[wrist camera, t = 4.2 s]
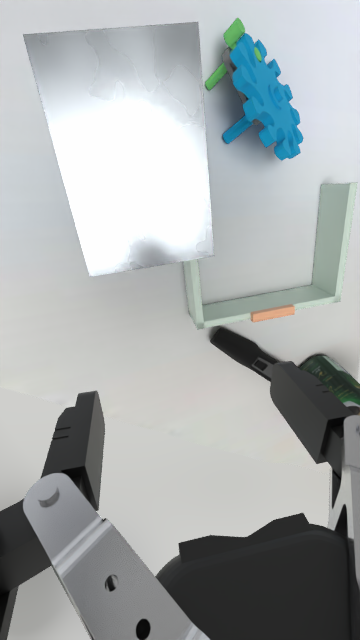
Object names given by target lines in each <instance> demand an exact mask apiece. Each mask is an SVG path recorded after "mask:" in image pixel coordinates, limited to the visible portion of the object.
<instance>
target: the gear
mask: <svg viewBox="0 0 360 640" xmlns="http://www.w3.org/2000/svg"><path fill="white" fill-rule="evenodd" d="M244 32H245V29H244V26H243V24H242V22H241V20H240V19H239V18H237V19H236V20H235V21H234V22H233V24H232V25H231V26H230V27H229V28H228V30H227V31H226V32H225V33H224V39H225V42H226V43H227V45H228V46H229V47H228V48H227V49H226V51H225V52H224V53H223V54H222V60H223V63H222V64H221V65H220V66H219V68H218V69H217V70H216V71H215V72H214V73H213V74H212V75H211V77H210V78H209V79H208V80H207V81H206V82H205V84H206V87H207V88H208V89H209V90H211V89H212V88H213V87H214V86H215V84H216V83H217V82H218V81H219V80H220V79H221V78H222V77H223V76H224V75H225V74H226V73H227V72H228V73H229V75H230V78H231V80H232V82H233V84H234V86H235V88H236V90H237V92H238V94H239V97H240V99H241V101H242V103H243V109H244V112H245V115H244V116H243V117H242V118H241V119H240V120H239V121H238V122H236V123H235V124H234V125H233V126H232V127H231V128H230V129H228V130H227V131H226V132H225V133H224V134H223V138H224V140H225V142H226V143H227V144H229V143H230V142H232V141H233V140H234V139H235V138H236V137H238V136H239V135H240V134H241V133H242V132H244V131H245V130H246V129H247V128H248V127H250V126H251V125H252V124H255V125H258V124H259V123H260V122H262V123H263V125H264V127H265V128H264V129H262V130H261V131H260V132H259V137H260V139H261V141H262V143H263V144H264V146H265V147H266V148H267V147H268V146H269V145H271V144H272V143H274V142H275V141H276V142H277V145H276V146H275V147H274V152H275V154H276V156H277V157H278V158H279V159H280V160H284V159H285V158H289V159H291V158H293V157H295V156H296V155H298V154H299V153H300V149H299V146H298V144H300V143H301V142H302V141H303V136H302V134H301V132H300V131H299V129H298V128H297V125H298V124H299V123H300V117H299V113H298V111H297V110H296V109H294V108H293V107H292V106H291V105H290V103H289V101H290V100H291V99H292V98H293V97H292V93H291V90H290V88H289V86H288V85H287V84H286V85H285V86H283V85H282V84H280V83H279V82H278V80H277V77H278V76H279V75H280V74H281V71H280V69H279V67H278V65H277V63H276V61H275V59H273V60H272V61H271V62H270V63H269V64H268V65H266V63H265V60H264V58H265V57H266V56H267V52H266V49H265V47H264V46H263V44H262V43H261V42H260V40H258V41H257V42H256V43H255V44H254V42H253V40H252V38H251V37H250V36H249V35H248V34H246V33H244ZM241 36H242V37H241ZM240 37H241V38H240ZM239 38H240V39H239ZM238 39H239V40H238Z"/></svg>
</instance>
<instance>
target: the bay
mask: <svg viewBox="0 0 360 640" xmlns="http://www.w3.org/2000/svg"><path fill="white" fill-rule="evenodd" d="M357 183H358V182H356V183H336V184H323V185H321V191H320V202H319V212H318V223H317V234H316V245H315V256H314V266H313V277H312V285H309V286H304V287H299V288H293V289H288V290H283V291H277V292H272V293H266V294H261V295H256V296H250V297H245V298H240V299H234V300H229V301H224V302H218V303H213V304H208V305H202V298H201V288H200V277H199V267H198V259H194V260H188V261H183V266H184V275H185V283H186V291H187V300H188V308H189V314H190V316H191V318H192V320H193V322H194V324H195V326H196V328H197V330H198V329H203V328H208V327H213V326H218V325H223V324H228V323H233V322H238V321H243V320H248V319H251V321H252V322H258V321H263V320H268V319H273V318H278V317H283V316H288V315H293V314H294V312H295V310H299V309H304V308H309V307H315V306H320V305H325V304H330V303H335V302H340V300H341V293H342V286H343V279H344V272H345V265H346V258H347V252H348V245H349V238H350V231H351V224H352V217H353V210H354V203H355V196H356V189H357Z"/></svg>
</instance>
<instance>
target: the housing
mask: <svg viewBox="0 0 360 640" xmlns="http://www.w3.org/2000/svg"><path fill="white" fill-rule="evenodd" d="M23 37H24V41H25V44H26V48H27V51H28V55H29V59H30V62H31V66H32V69H33V73H34V77H35V80H36V84H37V87H38V91H39V95H40V98H41V102H42V105H43V109H44V113H45V116H46V120H47V123H48V127H49V131H50V134H51V138H52V142H53V145H54V149H55V152H56V156H57V160H58V163H59V167H60V170H61V174H62V178H63V181H64V185H65V188H66V192H67V196H68V199H69V203H70V206H71V210H72V214H73V217H74V221H75V224H76V228H77V232H78V235H79V239H80V242H81V246H82V250H83V253H84V257H85V261H86V264H87V268H88V271H89V275H90V277H92V276H98V275H104V274H110V273H116V272H122V271H128V270H134V269H140V268H146V267H152V266H158V265H164V264H170V263H176V262H182V261H188V260H194V259H199V258H205V257H211V256H214V246H213V231H212V217H211V202H210V187H209V173H208V158H207V144H206V129H205V114H204V100H203V85H202V71H201V56H200V41H199V27H198V22H192V23H178V24H164V25H150V26H136V27H122V28H108V29H94V30H80V31H66V32H52V33H38V34H24V35H23Z"/></svg>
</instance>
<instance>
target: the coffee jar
mask: <svg viewBox="0 0 360 640" xmlns="http://www.w3.org/2000/svg"><path fill="white" fill-rule="evenodd" d="M299 369H300V370H305V371H307V372H308V373H310V374H312V375H314V376H315V377H316V378H318V379H319V380H320V381H321V382H322V383H323V385H325V386H326V387H327V388H328V389H329V390H330V392H332V393H333V394H334V395H335V396H336V397H337V398H338V399H339V400H340V401H341V402H342V403H343V404H344V405H345V406H346V407H347V408H348V409H349V410H350V411H352V412H353V413H354V414H355V415H359V416H360V384H359V383H358V382H357V381H356V380H355V379H354V378H353V377H352V376H351V375H350V374H349V373H348V372H347V371H346V370H345V369H343V368H342V367H341V366H340V365H339V364H338V363H336V362H335V361H334V360H332V359H331V358H329V357H327V356H315V357H313V358H311V359H309V360H308V361H307V362H305V363H304V364H303V365H302V366H301V367H300V368H299Z"/></svg>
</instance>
